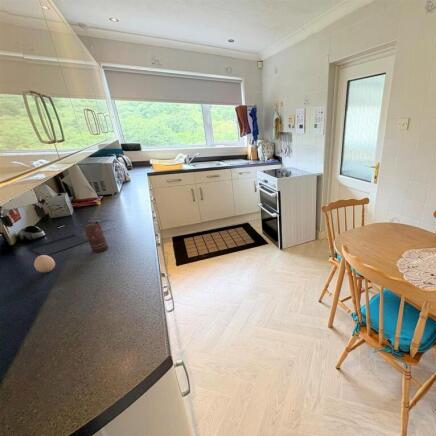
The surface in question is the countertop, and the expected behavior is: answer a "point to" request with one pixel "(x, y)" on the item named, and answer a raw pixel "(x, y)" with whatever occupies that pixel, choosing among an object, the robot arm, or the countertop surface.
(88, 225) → the can
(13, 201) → the robot arm
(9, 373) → the countertop surface
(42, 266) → the egg
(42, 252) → the placemat
